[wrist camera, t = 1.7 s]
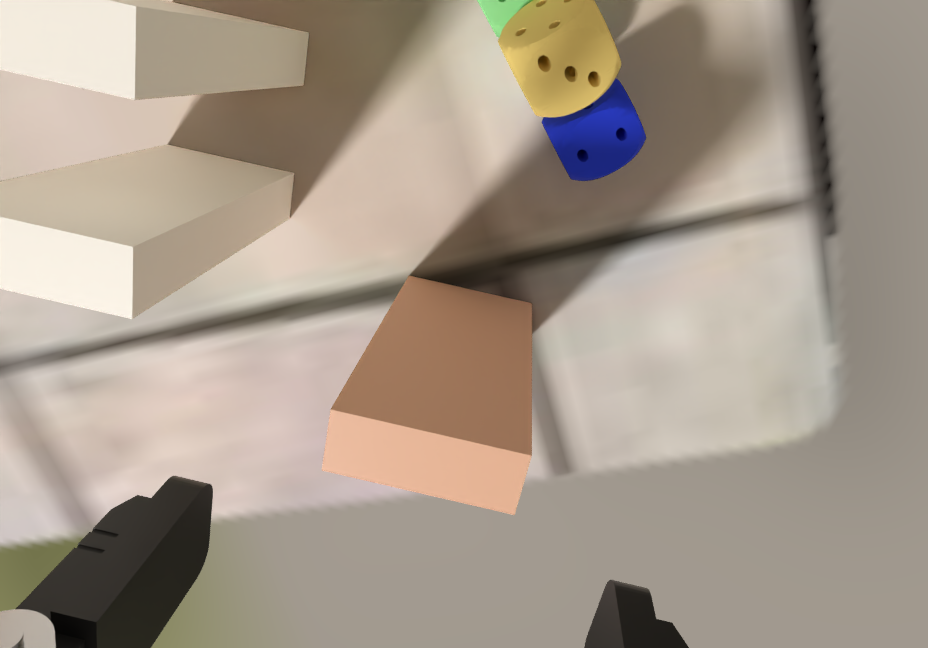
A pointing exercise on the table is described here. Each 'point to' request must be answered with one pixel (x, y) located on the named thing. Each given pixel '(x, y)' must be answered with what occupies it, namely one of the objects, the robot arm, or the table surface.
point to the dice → (570, 80)
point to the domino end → (441, 398)
